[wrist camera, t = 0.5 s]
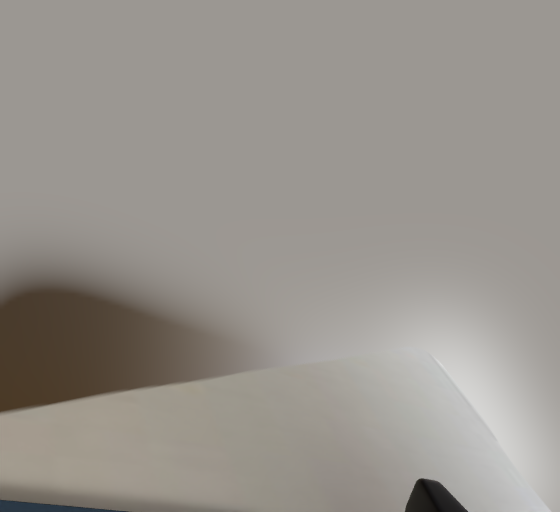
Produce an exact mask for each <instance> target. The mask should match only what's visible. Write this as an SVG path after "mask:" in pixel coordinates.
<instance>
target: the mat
mask: <svg viewBox="0 0 560 512" xmlns="http://www.w3.org/2000/svg"><path fill="white" fill-rule="evenodd" d="M0 512H127V511H116V510H105V509H94V508H83V507H72V506H61V505H50V504H39V503H28V502H17V501H6V500H0Z"/></svg>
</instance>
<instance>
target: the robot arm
mask: <svg viewBox="0 0 560 512" xmlns="http://www.w3.org/2000/svg"><path fill="white" fill-rule="evenodd" d="M405 512H468V511H467V510H466V509H465V508H464V507H463V506H462V505H461V504H460V503H459V502H458V501H457V500H456V499H455V498H454V497H453V496H452V495H451V494H450V493H449V491H448V490H447V489H446V488H445V487H444V486H443V485H442V484H441V483H439V482H438V481H434V480H429V479H423V478H421V479H418V480H417V482H416V483H415V486H414V488H413V491H412V493H411V495H410V498H409V500H408V503H407V505H406V509H405Z"/></svg>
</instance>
